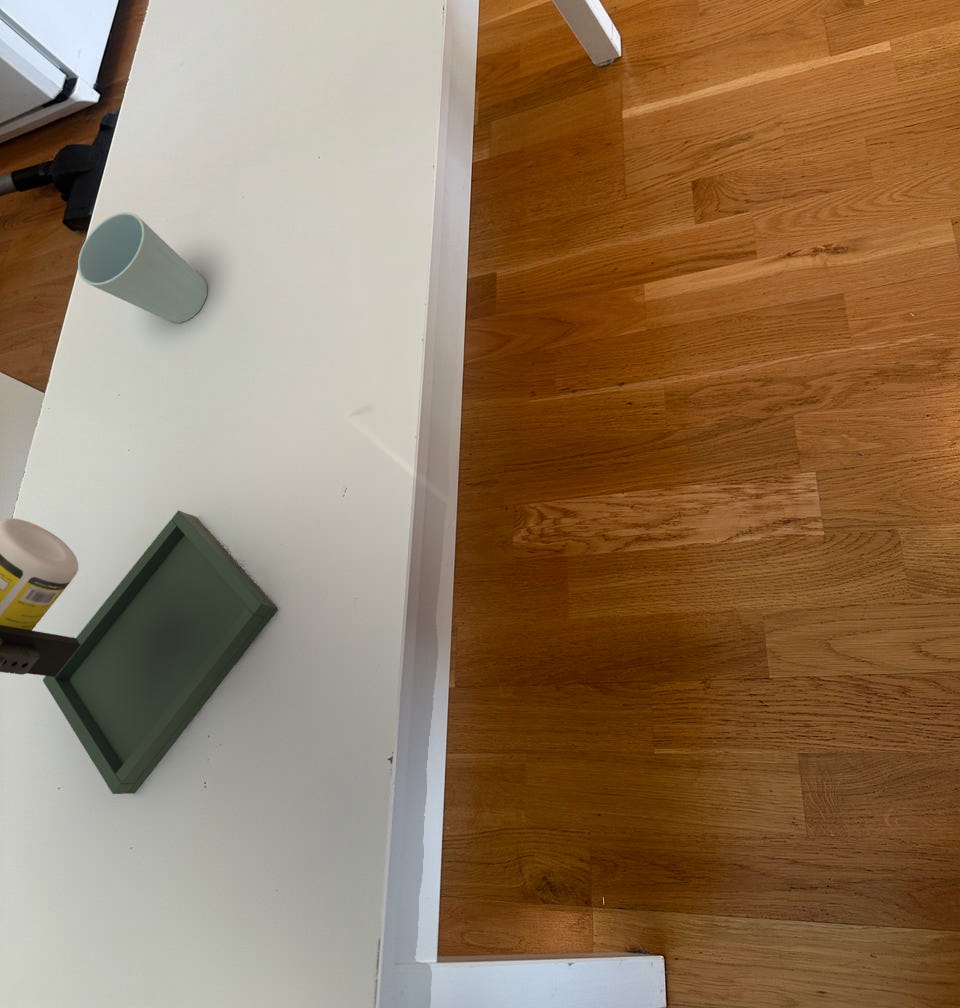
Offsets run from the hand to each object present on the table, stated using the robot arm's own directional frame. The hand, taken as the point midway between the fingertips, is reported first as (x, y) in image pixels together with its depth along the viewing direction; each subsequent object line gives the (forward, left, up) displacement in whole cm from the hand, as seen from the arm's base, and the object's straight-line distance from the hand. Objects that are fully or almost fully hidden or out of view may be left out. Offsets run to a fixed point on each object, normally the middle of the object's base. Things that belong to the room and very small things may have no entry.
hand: (44, 625), depth 63 cm
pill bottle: (+1, -6, +5) cm, 8 cm away
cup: (+30, -17, -13) cm, 37 cm away
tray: (0, 0, -13) cm, 13 cm away
